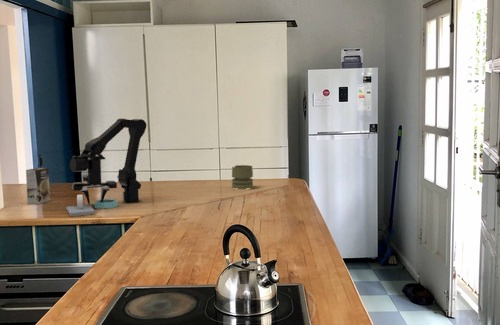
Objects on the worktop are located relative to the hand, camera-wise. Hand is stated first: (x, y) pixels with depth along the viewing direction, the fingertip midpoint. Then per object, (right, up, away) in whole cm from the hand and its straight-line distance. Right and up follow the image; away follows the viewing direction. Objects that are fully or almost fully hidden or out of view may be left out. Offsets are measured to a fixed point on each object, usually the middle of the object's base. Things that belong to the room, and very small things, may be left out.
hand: (95, 204), depth 234 cm
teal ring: (+4, -1, +2) cm, 5 cm away
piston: (+65, +5, +51) cm, 83 cm away
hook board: (-3, -3, -10) cm, 11 cm away
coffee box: (-31, 0, +13) cm, 33 cm away
